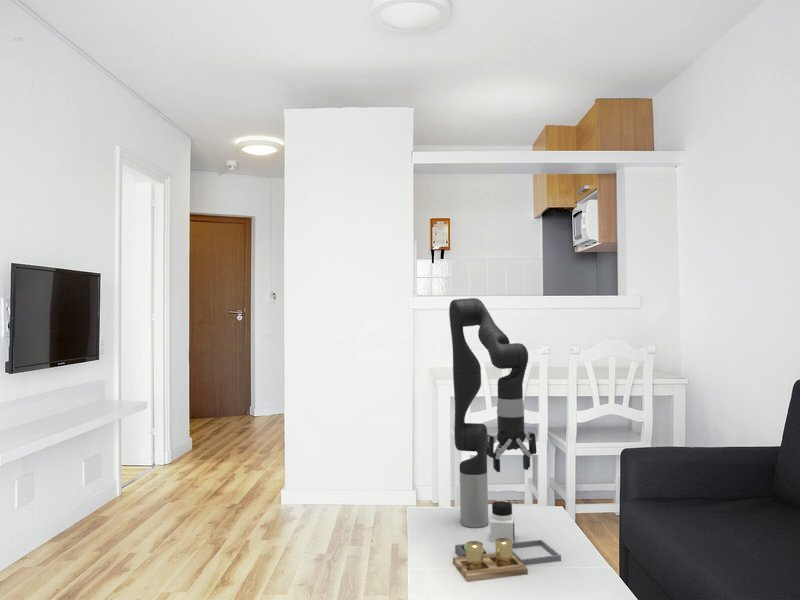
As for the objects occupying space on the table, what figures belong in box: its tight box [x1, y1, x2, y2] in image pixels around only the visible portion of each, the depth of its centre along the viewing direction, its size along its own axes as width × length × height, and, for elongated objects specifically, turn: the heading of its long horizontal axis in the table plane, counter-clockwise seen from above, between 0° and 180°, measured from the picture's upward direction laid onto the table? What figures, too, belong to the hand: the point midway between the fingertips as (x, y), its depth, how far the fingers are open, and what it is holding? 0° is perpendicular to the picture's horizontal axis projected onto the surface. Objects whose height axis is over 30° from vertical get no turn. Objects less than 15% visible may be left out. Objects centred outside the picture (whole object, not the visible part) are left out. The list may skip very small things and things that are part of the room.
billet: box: [465, 540, 484, 571], centre depth 165 cm, size 5×5×7 cm
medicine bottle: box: [489, 499, 516, 543], centre depth 188 cm, size 7×7×12 cm
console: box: [454, 543, 488, 557], centre depth 175 cm, size 7×7×3 cm
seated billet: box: [494, 538, 513, 567], centre depth 167 cm, size 5×5×7 cm
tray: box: [512, 539, 562, 566], centre depth 175 cm, size 12×12×2 cm
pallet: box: [452, 552, 529, 583], centre depth 166 cm, size 12×17×2 cm
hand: (511, 470), depth 173 cm, fingers open, 8 cm apart
